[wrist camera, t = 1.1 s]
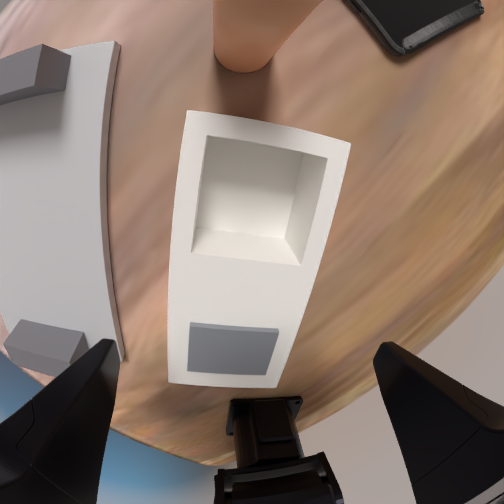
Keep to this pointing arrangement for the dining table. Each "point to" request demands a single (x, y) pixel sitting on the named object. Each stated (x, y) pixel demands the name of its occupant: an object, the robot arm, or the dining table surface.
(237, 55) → the orange-brown tapered capsule
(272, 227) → the white socket block
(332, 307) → the dining table surface
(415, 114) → the dining table surface
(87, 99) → the board
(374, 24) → the phone
